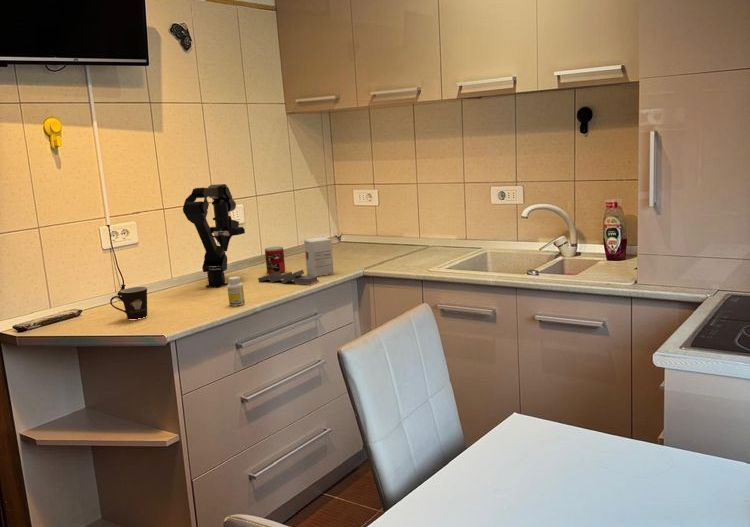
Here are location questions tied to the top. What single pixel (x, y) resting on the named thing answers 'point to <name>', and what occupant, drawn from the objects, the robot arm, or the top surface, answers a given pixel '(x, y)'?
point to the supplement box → (319, 256)
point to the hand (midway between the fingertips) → (225, 251)
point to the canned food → (275, 260)
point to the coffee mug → (133, 302)
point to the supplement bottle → (235, 291)
